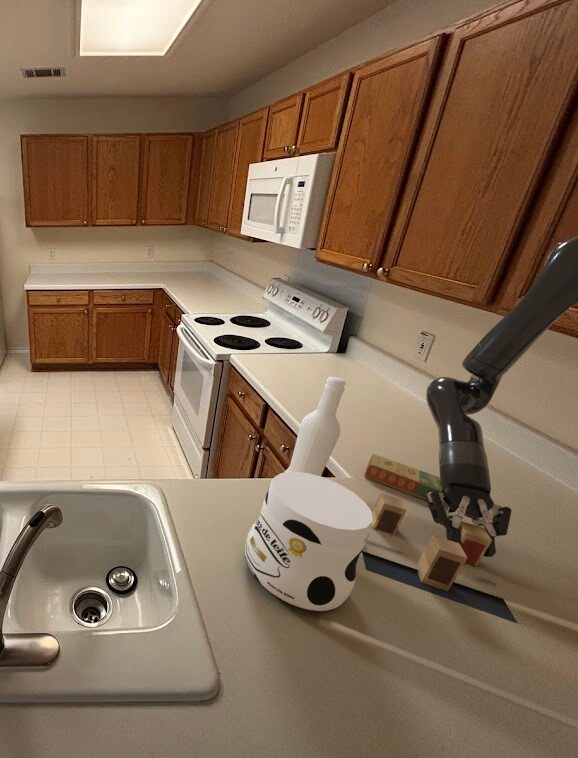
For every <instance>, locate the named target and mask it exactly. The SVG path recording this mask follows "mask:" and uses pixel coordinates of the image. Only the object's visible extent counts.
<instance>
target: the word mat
mask: <svg viewBox="0 0 578 758" xmlns="http://www.w3.org/2000/svg"><path fill="white" fill-rule="evenodd" d="M361 554H362V559H363V564H364V568H365V570H366V571H368V572H370V573H374V574H377V575H379V576H382V577H385V578H388V579H391V580H392V581H393V580H394V581H396V582H399V583H402V584H405V585H406V586H410V587H413V588H416V589H418V590H422V591H424V592H427V593H430V594H433V595H436V596H438V597H441V598H444V599H447V600H450V601H453V602H456V603H458V604H462V605H464V606H467V607H469V608H473V609H476V610H478V611H481V612H483V613H487V614H489V615H493V616H495V617H498V618H500V619H504V620H506V621H509V622H512V623H515V624H517V625H518V624H519V622H518V621H517V619H516V617H515V616H514V614H513V612H512V611H511V609H510V607H509V605H508V604H507V602H506V600H505V599H504V598H503V597H499V596H496V595H495V594H491V593H488V592H485V591H482V590H478V589H476V588H473V587H470V586H468V585H464V584H461V583H457V581H456V582H455V581H454V582H453V584H452V585H451V587H450V589H449V591H445V590H442V589H439V588H436V587H434V586H431V585H428V584H425V583H422V582H421V580H420V578H419V575H418V572H417V570H418V569H417V568H414V567H412V566H408V565H405V564H403V563H402V564H401V563H399V562H397V561H393V560H390V559H387V558H385V557H381V556H379V555H376V554H372V553H370V552H367V551H365V550H362V552H361ZM416 569H417V570H416Z"/></svg>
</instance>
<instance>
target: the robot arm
mask: <svg viewBox="0 0 578 758" xmlns="http://www.w3.org/2000/svg"><path fill="white" fill-rule="evenodd" d="M577 302H578V235H575V236H571V237H569V238H566V239H564V240H562V241H560V242H559V243H557V244H555V245H554V246H553V247H552V248H551V249H550V250H549V251H548V253H547V255H546V256H545V258H544V260H543V267H542V270H541V271H540V273H539V275H538V276H537V278H536V279H535V281H534V282H533V284H532V285H531V286H530V288H529V290H528V291H527V292H526V293H525V295H523V297H522V298H521V299H520V300H519V302H518V303H517V304H516V305H515V306H514V307H513V308H512V309H511V310H510V311H509V312H508V313H507V314H506V315H505V316H504V317H503V318H501V319H500V320H499V321H498V322H497V323H496V324H495V325H494V326H493V327H492V328H491V329H490V330H489V331H488V332H487V333H486V334H485V335H484V336H482V338H481V339H480V340H479V341H478V342H477V344H476V345H474V347H473V348H472V350H470V352H469V353H468V354H467V355H466V356H465V357H464V359H463V360H462V362H461V367H462V368H463V369H464V370H465V371H466V372H468V373H469V374H471V375H470V377H469V380H467V381H464V380H460V379H457V378H453V377H448V376H440V377H437V378H435V379H433V380H432V381H431V382H430V383H429V385H428V386H427V388H426V390H425V391H426V392H425V400H426V404H427V407H428V410H429V411H430V414H431V416H432V419H433V422H434V423H435V426H436V427H437V435H438V467H439V477H440V481H441V486H442V491H441V492H440V493H437V492H431V493H427V494H425V498H426V500H425V502H426V503H427V506H428V509H429V512H430V514H431V517H432V519H433V522H434V523H436V524H439V525H441V526H443V527H444V528H445V534H446V540H450V541H453V542H456V543H459V544H460V546H461V547H462V541H461V530H460V529H458V528H459V526H460V523H461V521H462V519H464V518H465V517H467V518H469V519H471V522H472V524H473V525H476V526H479V527H483V528H484V529H485V531H486V532H487V534H488V535H489V537H490V538H491V540H492V541H491V543H490V545H489V547H488V548H487V550H486V552H485V553H484V555H483V557H484V558H492V557H494V555H496V553H497V549H496V539H495V538H497V537H502V536H503V537H504V536H506V535H507V534H508V531H509V525H510V520H511V516H512V509H511V507H510V506H502V505H499V504H497V503H495V501H494V500H493V499H492V497H491V491H492V484H491V483H492V482H491V477H490V468H489V460H488V455H487V452H486V449H485V442H484V433H483V428H482V425H481V423H479V422H478V421H477V420H476V419H474V418H472V417H470V416H469V415H474V414H478V413H479V412H481V411H483V410H484V409H485V408H486V407H488V405H489V404H490V402H491V401H492V399H493V396H494V395H495V393H496V391H497V389H498V387H499V386H500V383H501V381H502V379H503V377H504V375H506V373H508V372H509V370H511V368H513V367H514V365H516V363H518V361H519V360H520V359H521V358H522V357H523V356H524V355H525V354H526V353H527V352H528V351H529V350H530V349H531V348H532V346H533V345H534V344H535V343H536V342H537V341H538V340H539V339H540V337H542V335H544V333H545V332H546V331H547V330H548V329H549V328H550V327H551V326H552V325H553V324H554V323H556V321H557V320H558V319H559V318H560V317H561V316H562V315H564V314H565V313H566V312H567V311H568V310H569V309H570V308H571V307H572V306H574V305H575V304H576V303H577ZM443 500H444V501H443ZM442 502H443V503H442ZM444 503H445V504H446V505H447V509H445V506H444ZM490 510H491V513H490ZM490 514H491V515H490Z"/></svg>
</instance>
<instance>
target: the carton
mask: <svg viewBox="0 0 578 758" xmlns="http://www.w3.org/2000/svg"><path fill="white" fill-rule="evenodd" d="M364 478H367V479H369V480H372V481H374V482H377V483H380V484H383V485H384V486H388V487H391V488H393V489H396V490H398V491H400V492H403V493H406V494H408V495H410V496H413V497H415V498H418V499H421V500H423V501H426V498H425V494H427V493H431V492H437V493H440V492H441V491H442V486H441V481H440V476H437V475H434V474H432V473H429V472H427V471H423V470H420V469H417V468H415V467H412V466H408V465H406V464H403V463H401V462H398V461H395V460H392V459H389V458H386V457H384V456H381V455H378V454H375V453H373V454H372V455H371V457H370V459H369V461H368V464H367V467H366V470H365V472H364ZM442 504H444V500H443V502H442Z"/></svg>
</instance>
